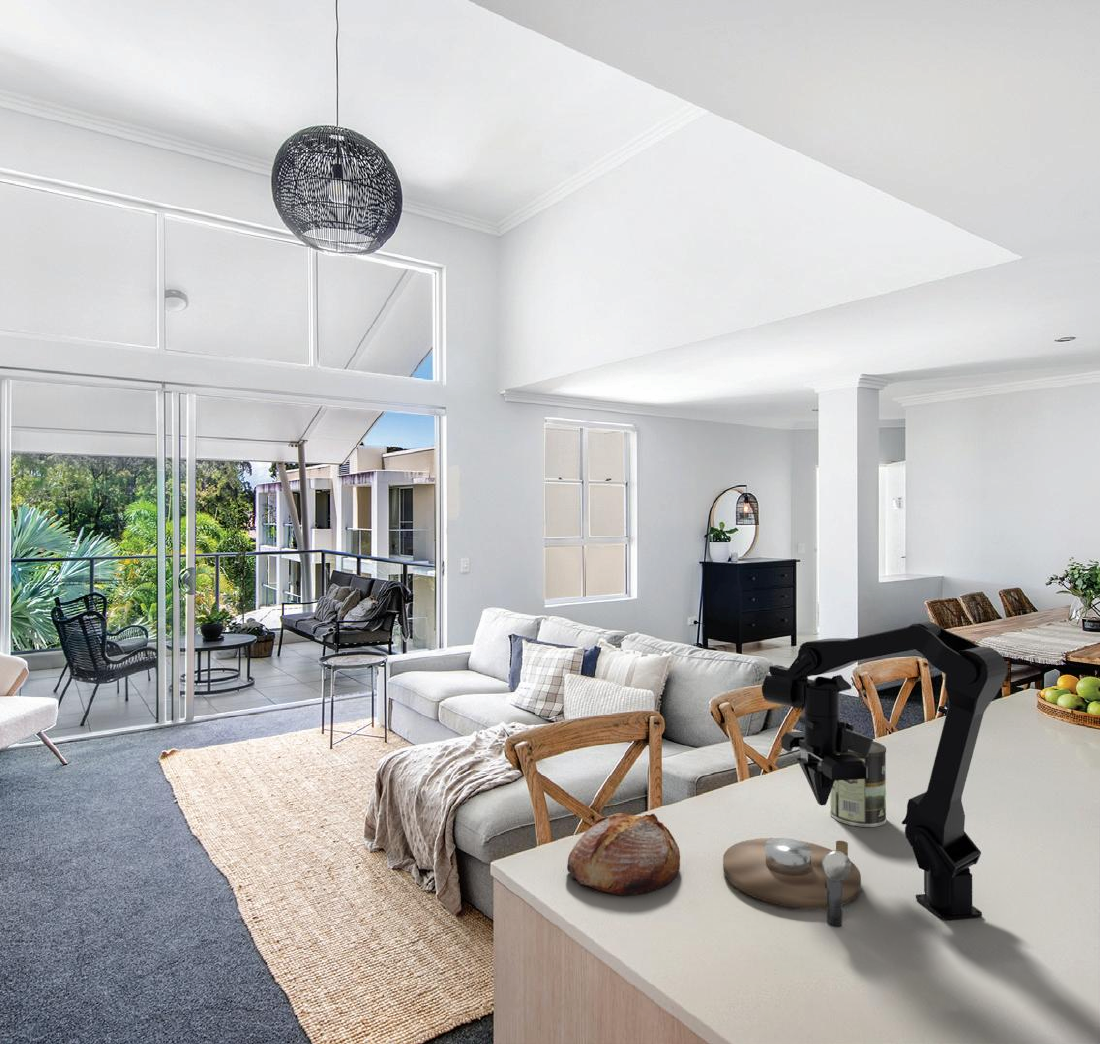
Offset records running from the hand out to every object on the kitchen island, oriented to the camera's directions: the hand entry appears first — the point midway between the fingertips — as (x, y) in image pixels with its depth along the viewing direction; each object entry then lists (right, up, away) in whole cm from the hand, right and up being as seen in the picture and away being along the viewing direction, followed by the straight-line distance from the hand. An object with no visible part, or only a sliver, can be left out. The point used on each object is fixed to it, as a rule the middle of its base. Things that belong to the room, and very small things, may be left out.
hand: (822, 804), depth 127 cm
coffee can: (+13, -10, +18) cm, 24 cm away
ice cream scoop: (-6, -9, -21) cm, 24 cm away
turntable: (-8, -9, -8) cm, 14 cm away
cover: (-8, -7, -8) cm, 13 cm away
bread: (-34, -10, -5) cm, 36 cm away
